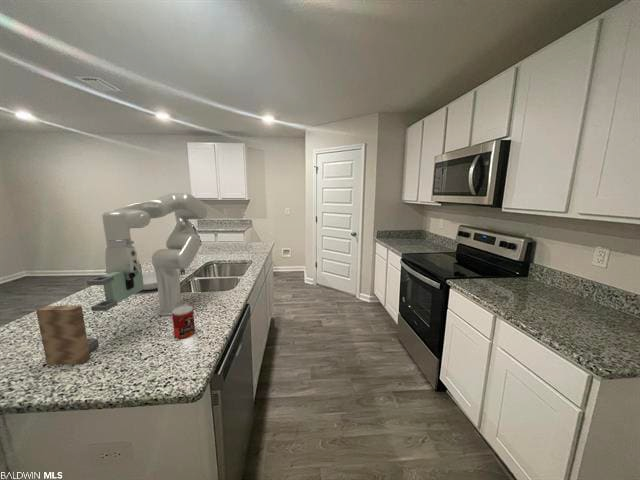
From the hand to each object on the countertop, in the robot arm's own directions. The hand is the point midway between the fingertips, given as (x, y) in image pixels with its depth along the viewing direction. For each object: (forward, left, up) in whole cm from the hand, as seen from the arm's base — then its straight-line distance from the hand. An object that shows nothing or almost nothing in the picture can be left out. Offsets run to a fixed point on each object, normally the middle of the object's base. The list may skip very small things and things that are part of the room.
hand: (125, 288), depth 99 cm
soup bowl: (+27, -55, -21) cm, 64 cm away
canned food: (-21, -1, -21) cm, 30 cm away
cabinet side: (+10, +13, -21) cm, 26 cm away
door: (0, +3, -3) cm, 4 cm away
